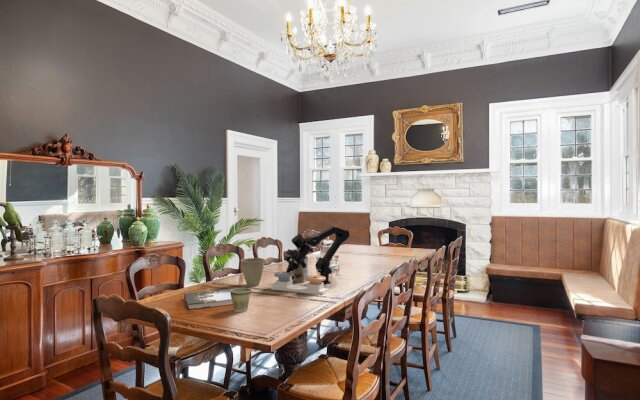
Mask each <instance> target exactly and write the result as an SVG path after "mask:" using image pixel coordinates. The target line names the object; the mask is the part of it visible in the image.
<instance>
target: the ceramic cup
mask: <svg viewBox="0 0 640 400" xmlns="http://www.w3.org/2000/svg"><path fill="white" fill-rule="evenodd" d="M229 292H230V298H231V301H232V307H233V311H234V312H235V313H244V312H247V311H248V309H249V301H250V296H251V295H252V293H253V291H252V288H248V287H237V288H232V289H230V290H229Z"/></svg>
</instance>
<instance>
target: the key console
mask: <svg viewBox="0 0 640 400" xmlns="http://www.w3.org/2000/svg"><path fill="white" fill-rule="evenodd" d="M324 285H325V283H324V282H321V283H320V284H318V285H316V284H310V282H309V283H307V284H306V285H295V284H293V281H292V279H290V280H289V281H287V282H283V281H279V279H278V280H275V284H274V285H272V286H270V290H275V291H282V292H283V291H284V292H285V291H286V292H292V293H293V292H295V293H301V294H302V293H305V294H313V295H314V294H316V295H325V294H327V293H328V292H330V288H326V287H325V286H324Z"/></svg>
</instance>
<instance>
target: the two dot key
mask: <svg viewBox="0 0 640 400" xmlns="http://www.w3.org/2000/svg"><path fill="white" fill-rule="evenodd" d="M273 276H274V277H276V278H278V280H279V281H283V282H287V281H289V280H291V278H292V276H294V273H293V272H292V271H291V272H289V273H286V271H277V272H274V273H273Z"/></svg>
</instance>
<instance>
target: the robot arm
mask: <svg viewBox="0 0 640 400" xmlns="http://www.w3.org/2000/svg"><path fill="white" fill-rule="evenodd" d="M333 234H334V235H335V238H334V241H333V243H332V244H331V245H330V247H329V248H328V250H327V251H326V253H325V254H324V255H323V256H322V257H318V260H317V261H315V265H314V266H315V269H316V270H317V271H316V272H317V273H319V276H324V277H326V280H324V281H321V282H324V284H331V281H330V274H332V269H331V268H330V266H331V265H330V264H331V261H332V258H333V257H334V256H335V255H336V253H337V251H338V249H339V248H340V247H341V245H342V244H343V243H344V242H346V241H347V240H348V239H349V237H350V235H351V234H350V232H349V230H348V229H343V228H339V227H338V226H335V225H331V226H330V227H328V228H326V229H325V230H323V231H321V232H318V234H313V235H310V236H309V235H308V236H307V237H306V238H304V237H303V236H302V235H301V234H297V235H295V236H294V237H293V238H292V239H291V243H292V244H293V245H294V246H295V247H296V248H297V249H298V250H297V249H289V248H288V249H287V251H286V253H285V254H286V256H284V258H283V259H284V260H285V261H286V262H287V263H288V266H287V267H286V271H285V272H286V273H289V272H292V271H293V270H295V269H297V268H299V266H300V265H301V266H302V268H304V269H305V267H306V263H305V262H304V261H303V259H305V258H306V257H305V256H307V255H308V254H309V253H314V250H313V249H314V248H313V247H316V246H317V245H319V244H320V243H321V241H323V240H324V239H326V238H328V237H330V236H332V235H333ZM292 258H293V259H292Z"/></svg>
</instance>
